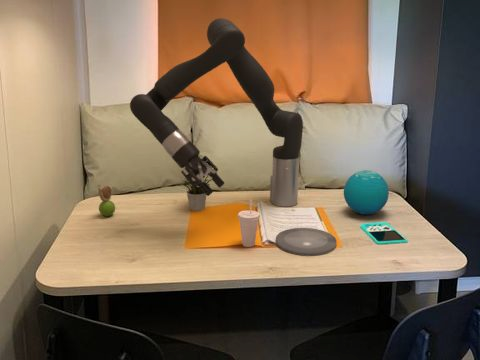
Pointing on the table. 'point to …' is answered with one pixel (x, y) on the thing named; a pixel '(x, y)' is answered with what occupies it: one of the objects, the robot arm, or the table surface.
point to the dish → (306, 241)
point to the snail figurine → (106, 201)
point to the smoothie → (248, 226)
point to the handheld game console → (382, 233)
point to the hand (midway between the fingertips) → (216, 189)
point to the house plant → (196, 196)
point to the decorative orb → (366, 192)
